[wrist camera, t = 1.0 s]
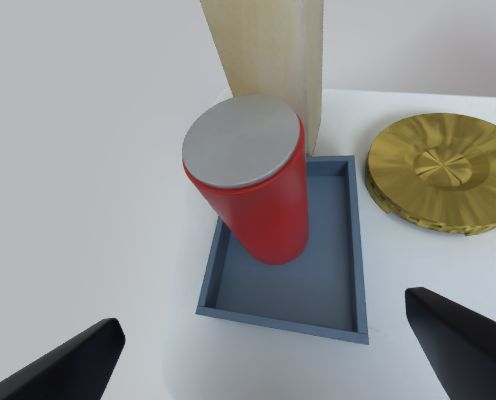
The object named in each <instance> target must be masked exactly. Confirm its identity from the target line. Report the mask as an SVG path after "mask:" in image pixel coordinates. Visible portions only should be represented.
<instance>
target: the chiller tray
mask: <svg viewBox="0 0 496 400" xmlns="http://www.w3.org/2000/svg"><path fill="white" fill-rule="evenodd" d="M306 174H307V196H308V217H309V239H308V243H307V245H306V247H305V249H304V251H303V252H302V253H301V254H300V255H299V256H298V257H297V258H295V259H294V260H292V261H290V262H288V263H286V264H282V265H269V264H265V263H262V262H260V261H258V260H256V259H255V258H254V257H252V256H251V254H250V253H249V252H248V251H247V250H246V248H245V247H244V246H243V245H242V243H241V242H240V241H239V240H238V239H237V237H236V236H235V235H234V234H233V232H232V231H231V230H230V229H229V227H228V226H227V225H226V224H225V222H224V221H223V220H222V219H221V217H220V216H218V221H217V225H216V229H215V233H214V238H213V242H212V246H211V250H210V255H209V259H208V263H207V267H206V272H205V276H204V280H203V284H202V288H201V293H200V297H199V301H198V306H197V309H196V314H198V315H204V316H209V317H215V318H221V319H226V320H232V321H237V322H243V323H248V324H254V325H260V326H265V327H271V328H276V329H282V330H287V331H293V332H299V333H304V334H310V335H315V336H321V337H327V338H332V339H338V340H343V341H349V342H354V343H360V344H366V345H369V341H368V328H367V315H366V302H365V289H364V276H363V262H362V249H361V236H360V223H359V210H358V197H357V184H356V171H355V158H354V155H353V156H324V157H306Z"/></svg>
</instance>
